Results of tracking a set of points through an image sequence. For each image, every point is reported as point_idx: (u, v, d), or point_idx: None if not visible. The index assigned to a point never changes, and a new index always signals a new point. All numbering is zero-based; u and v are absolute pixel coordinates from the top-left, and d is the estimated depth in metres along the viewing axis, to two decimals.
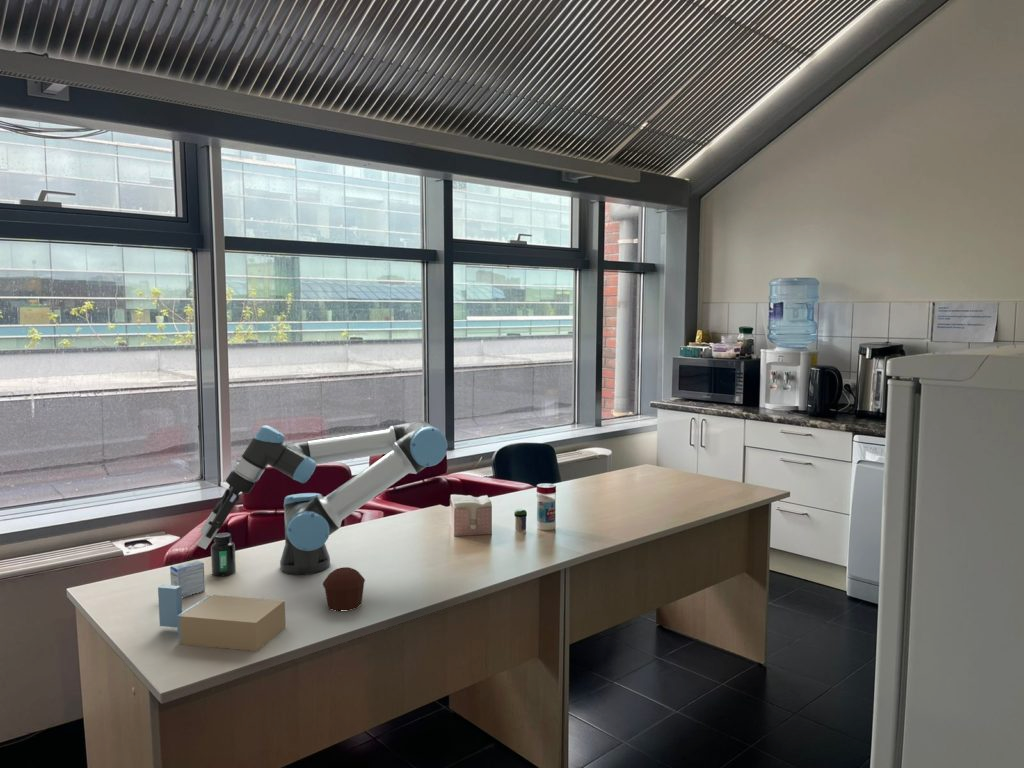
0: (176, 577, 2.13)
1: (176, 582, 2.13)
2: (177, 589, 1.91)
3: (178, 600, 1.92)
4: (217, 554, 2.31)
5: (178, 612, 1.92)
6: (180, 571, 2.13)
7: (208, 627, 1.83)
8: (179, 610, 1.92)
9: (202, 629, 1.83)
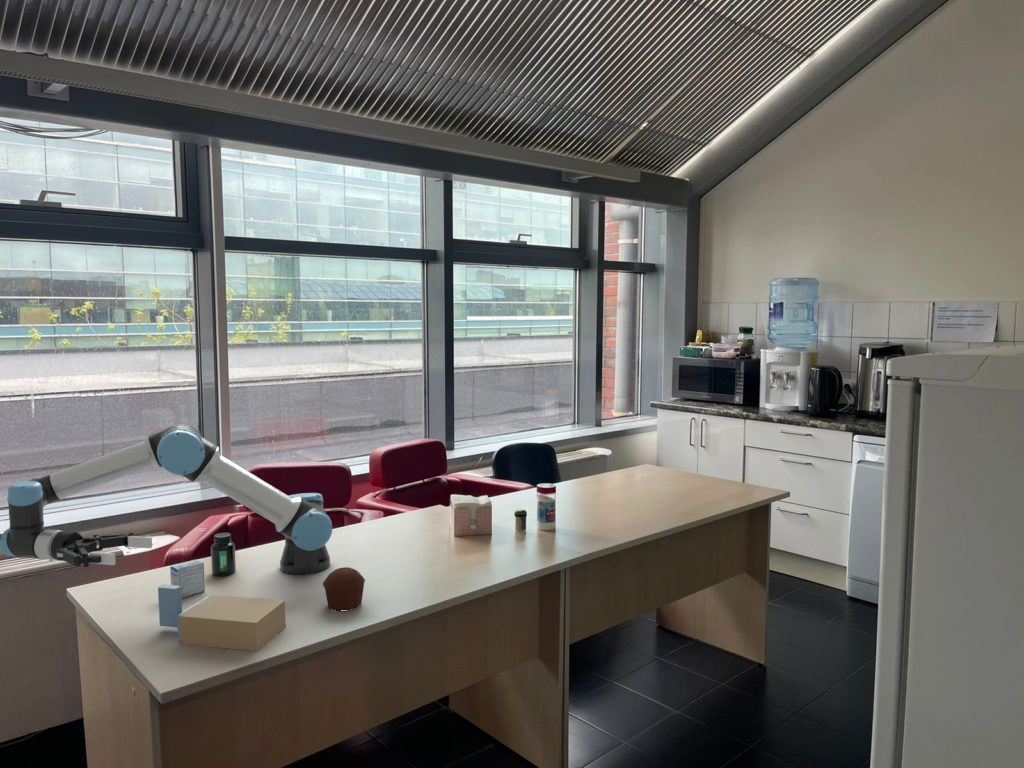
0: (176, 577, 2.13)
1: (176, 582, 2.13)
2: (177, 589, 1.91)
3: (178, 600, 1.92)
4: (217, 554, 2.31)
5: (178, 612, 1.92)
6: (180, 571, 2.13)
7: (208, 627, 1.83)
8: (179, 610, 1.92)
9: (202, 629, 1.83)
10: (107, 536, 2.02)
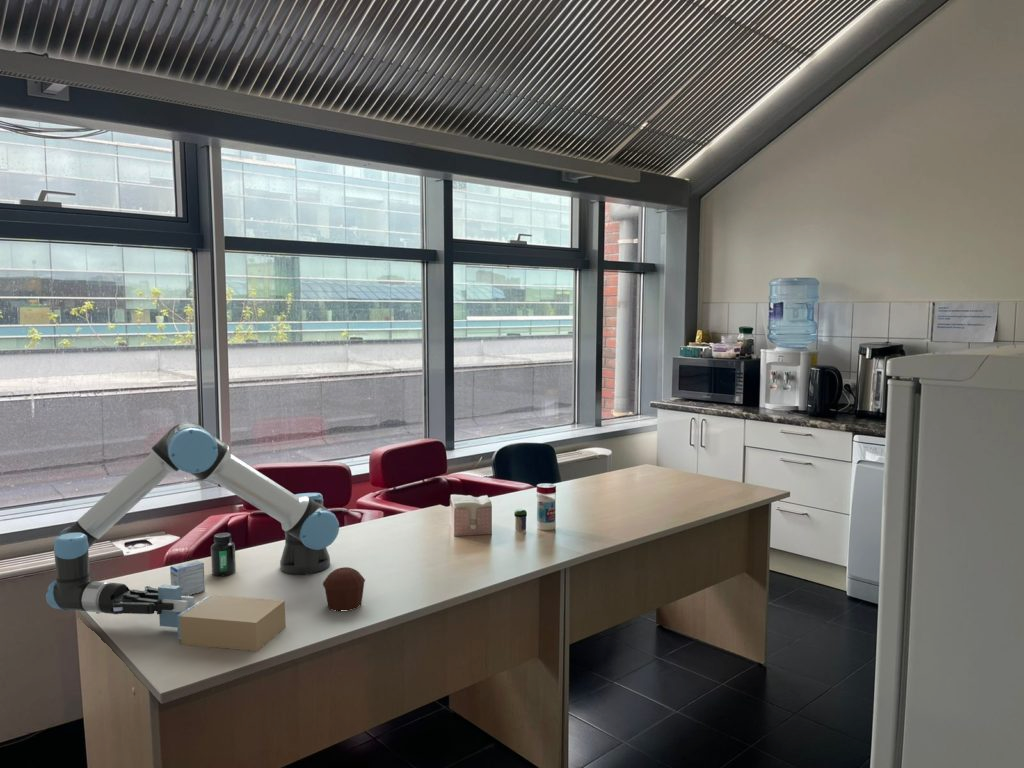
0: (176, 577, 2.13)
1: (176, 582, 2.13)
2: (177, 589, 1.91)
3: None
4: (217, 554, 2.31)
5: (178, 612, 1.92)
6: (180, 571, 2.13)
7: (208, 627, 1.83)
8: None
9: (202, 629, 1.83)
10: (153, 590, 1.98)
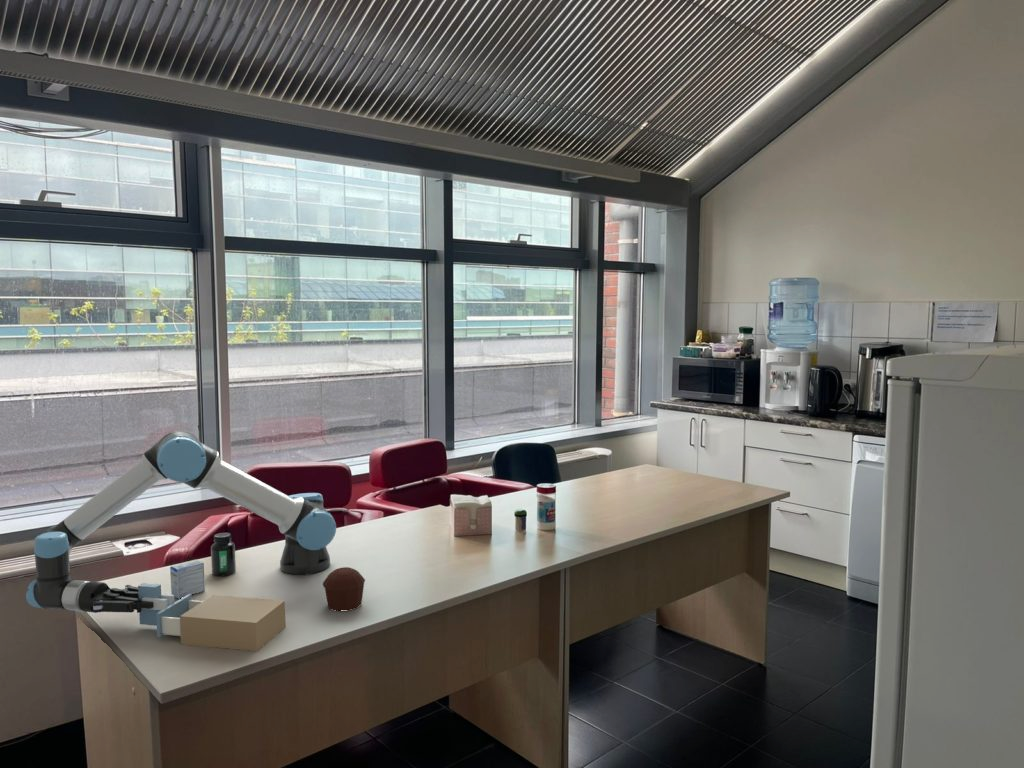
0: (176, 577, 2.13)
1: (176, 582, 2.13)
2: (157, 587, 1.92)
3: None
4: (217, 554, 2.31)
5: (158, 610, 1.93)
6: (180, 571, 2.13)
7: (208, 627, 1.83)
8: None
9: (202, 629, 1.83)
10: (133, 589, 1.99)
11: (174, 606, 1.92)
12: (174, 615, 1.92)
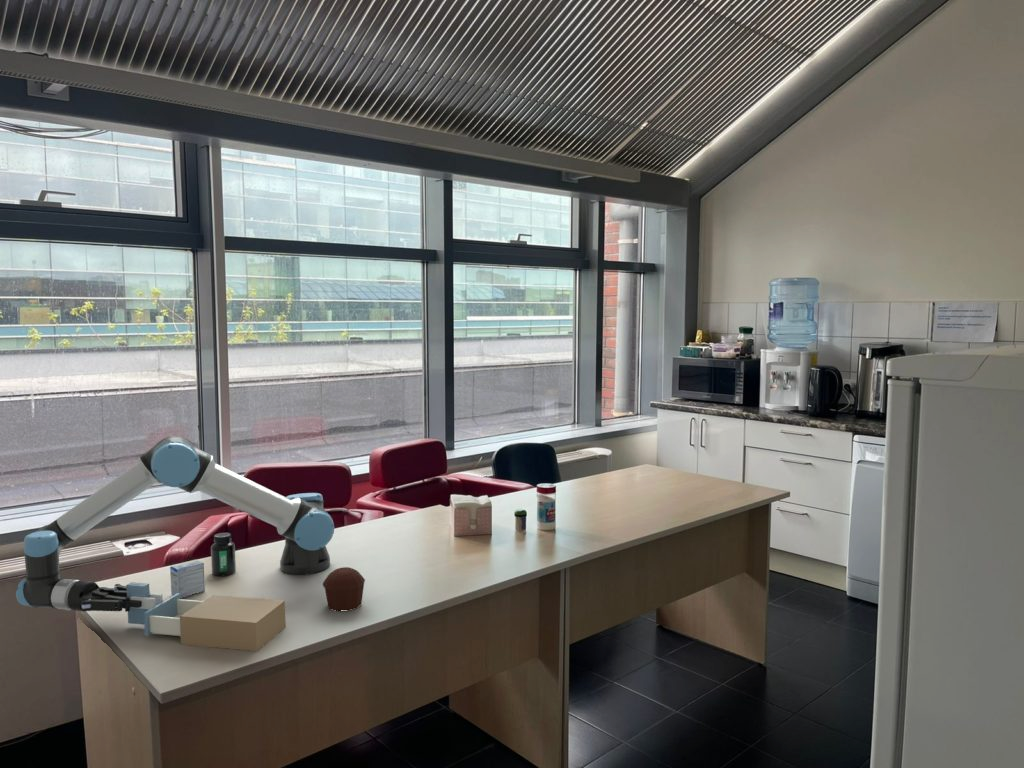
0: (176, 577, 2.13)
1: (176, 582, 2.13)
2: (145, 586, 1.93)
3: None
4: (217, 554, 2.31)
5: (146, 609, 1.94)
6: (180, 571, 2.13)
7: (208, 627, 1.83)
8: None
9: (202, 629, 1.83)
10: (122, 588, 2.00)
11: (162, 605, 1.92)
12: (162, 614, 1.92)
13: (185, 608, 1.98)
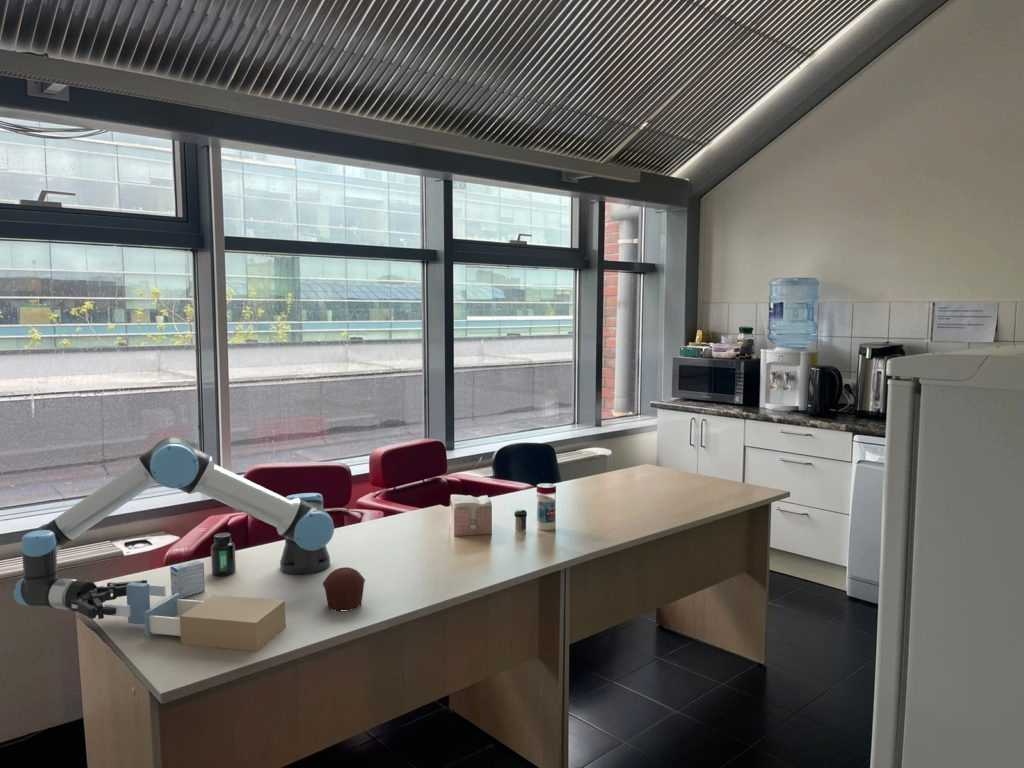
0: (176, 577, 2.13)
1: (176, 582, 2.13)
2: (145, 586, 1.93)
3: (146, 597, 1.94)
4: (217, 554, 2.31)
5: (146, 609, 1.94)
6: (180, 571, 2.13)
7: (208, 627, 1.83)
8: (147, 607, 1.94)
9: (202, 629, 1.83)
10: (121, 584, 2.02)
11: (161, 605, 1.92)
12: (162, 614, 1.92)
13: (185, 608, 1.98)
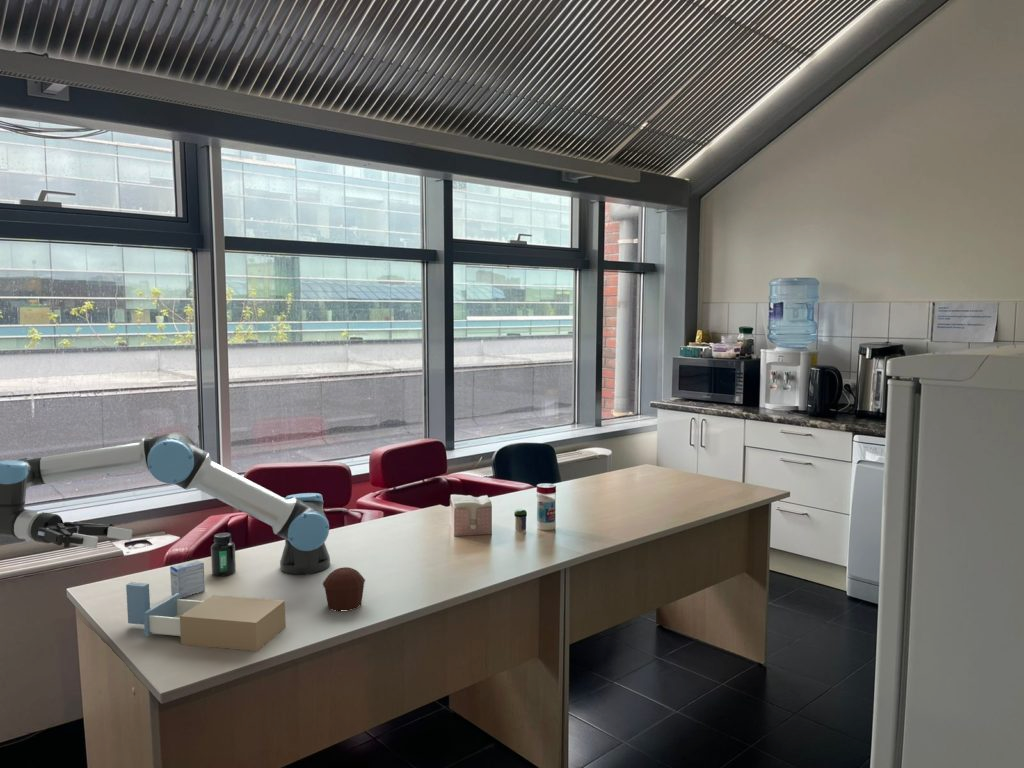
0: (176, 577, 2.13)
1: (176, 582, 2.13)
2: (145, 586, 1.93)
3: (146, 597, 1.94)
4: (217, 554, 2.31)
5: (146, 609, 1.94)
6: (180, 571, 2.13)
7: (208, 627, 1.83)
8: (147, 607, 1.94)
9: (202, 629, 1.83)
10: (87, 524, 2.04)
11: (161, 605, 1.92)
12: (162, 614, 1.92)
13: (185, 608, 1.98)
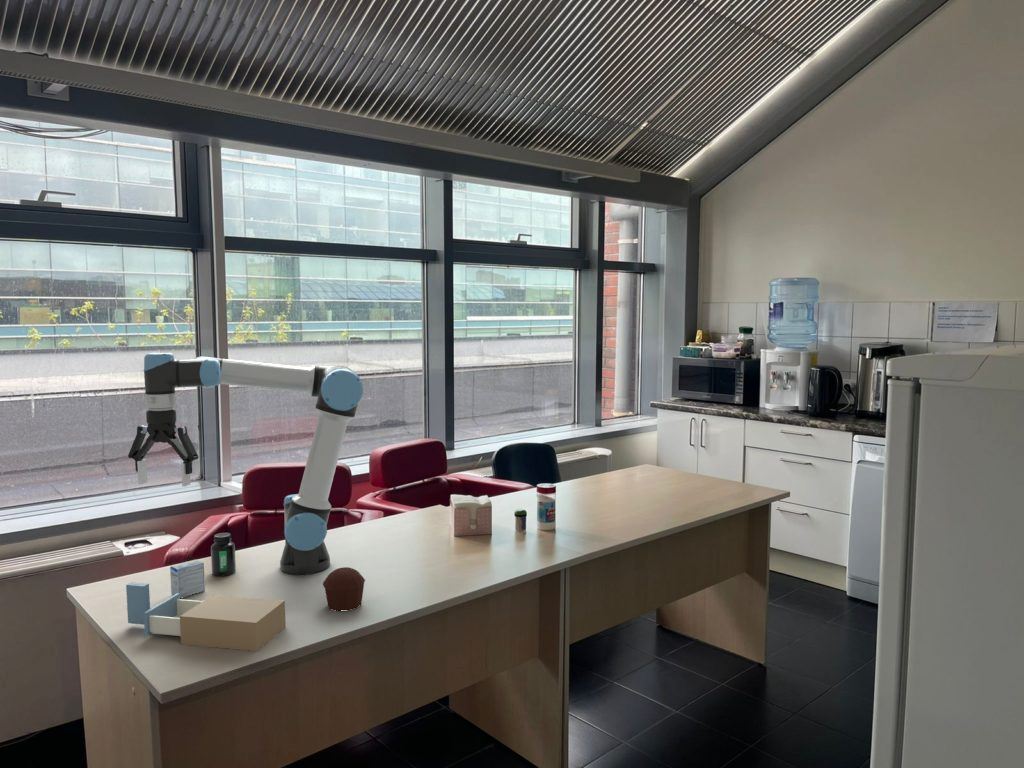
0: (176, 577, 2.13)
1: (176, 582, 2.13)
2: (145, 586, 1.93)
3: (146, 597, 1.94)
4: (217, 554, 2.31)
5: (146, 609, 1.94)
6: (180, 571, 2.13)
7: (208, 627, 1.83)
8: (147, 607, 1.94)
9: (202, 629, 1.83)
10: (143, 438, 2.15)
11: (161, 605, 1.92)
12: (162, 614, 1.92)
13: (185, 608, 1.98)
